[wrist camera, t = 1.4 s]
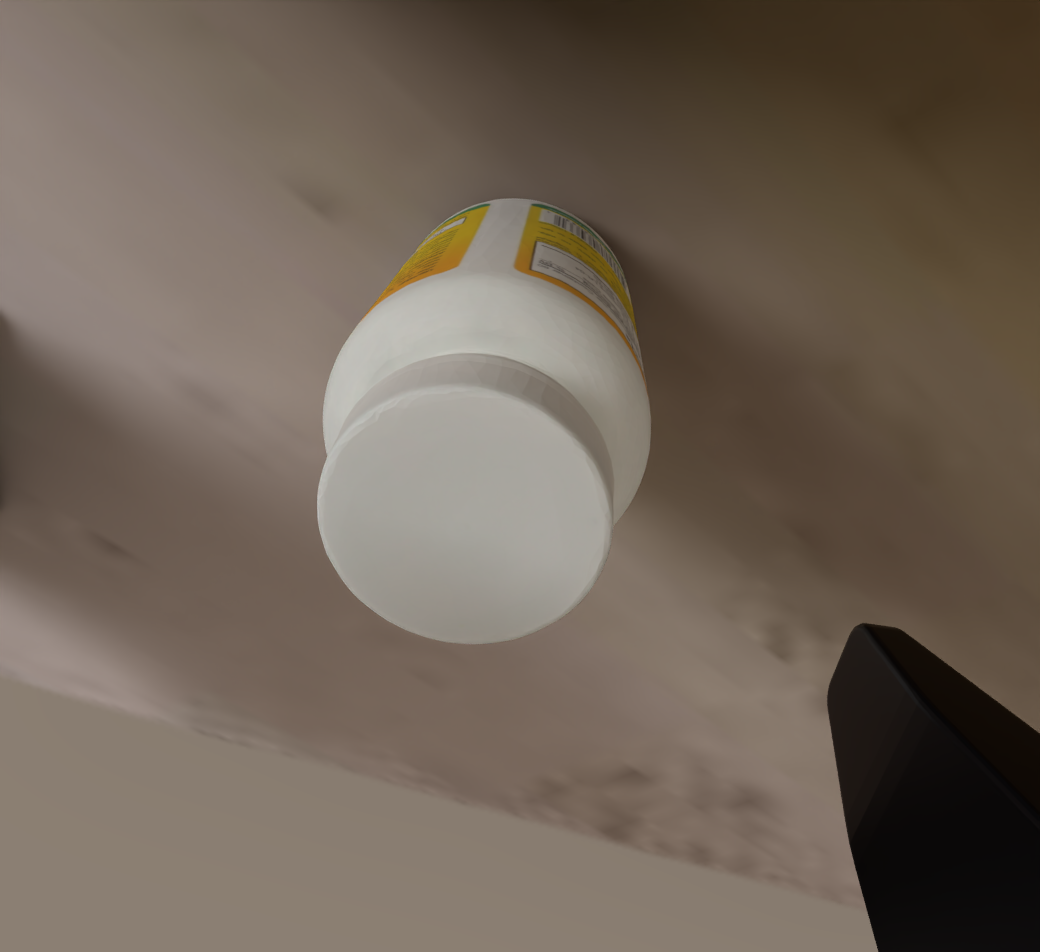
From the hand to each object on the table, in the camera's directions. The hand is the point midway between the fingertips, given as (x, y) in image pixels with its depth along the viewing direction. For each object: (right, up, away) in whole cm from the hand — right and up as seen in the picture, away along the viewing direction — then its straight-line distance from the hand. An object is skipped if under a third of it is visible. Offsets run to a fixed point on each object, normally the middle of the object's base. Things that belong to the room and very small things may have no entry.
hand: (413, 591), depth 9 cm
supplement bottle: (+1, +5, +11) cm, 12 cm away
